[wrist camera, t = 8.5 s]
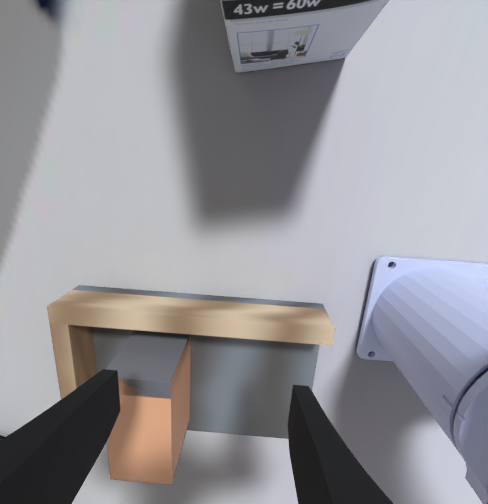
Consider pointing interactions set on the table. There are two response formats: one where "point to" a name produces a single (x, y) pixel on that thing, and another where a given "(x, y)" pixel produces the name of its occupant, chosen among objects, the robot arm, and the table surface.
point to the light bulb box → (294, 30)
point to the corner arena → (200, 349)
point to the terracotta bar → (150, 406)
